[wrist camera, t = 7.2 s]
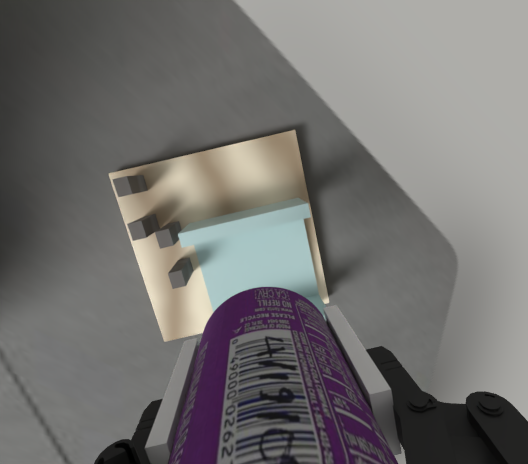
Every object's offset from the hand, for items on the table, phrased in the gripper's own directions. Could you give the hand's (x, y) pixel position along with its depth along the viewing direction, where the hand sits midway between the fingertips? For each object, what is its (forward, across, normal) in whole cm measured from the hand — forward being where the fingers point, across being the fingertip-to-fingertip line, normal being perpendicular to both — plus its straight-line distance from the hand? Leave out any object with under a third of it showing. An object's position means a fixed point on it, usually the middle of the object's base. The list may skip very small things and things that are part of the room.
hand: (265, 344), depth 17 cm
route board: (+16, -3, +3) cm, 16 cm away
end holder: (+14, 0, 0) cm, 14 cm away
